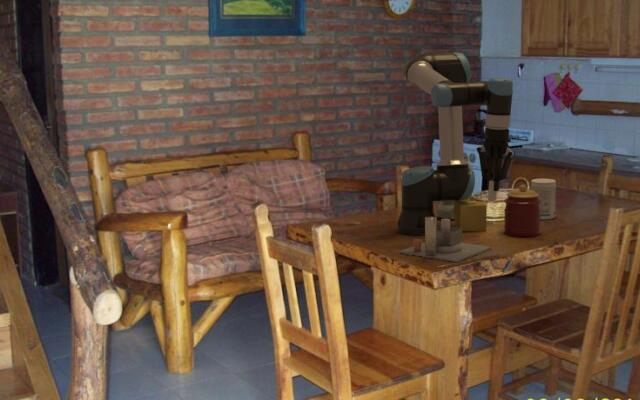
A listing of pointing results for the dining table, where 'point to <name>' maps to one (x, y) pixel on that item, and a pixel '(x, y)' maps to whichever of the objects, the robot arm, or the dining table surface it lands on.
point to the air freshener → (446, 210)
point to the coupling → (439, 236)
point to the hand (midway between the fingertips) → (492, 200)
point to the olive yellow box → (470, 215)
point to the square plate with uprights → (447, 248)
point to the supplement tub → (546, 196)
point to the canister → (522, 212)
